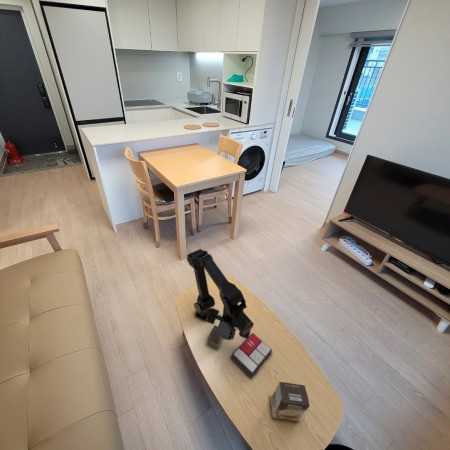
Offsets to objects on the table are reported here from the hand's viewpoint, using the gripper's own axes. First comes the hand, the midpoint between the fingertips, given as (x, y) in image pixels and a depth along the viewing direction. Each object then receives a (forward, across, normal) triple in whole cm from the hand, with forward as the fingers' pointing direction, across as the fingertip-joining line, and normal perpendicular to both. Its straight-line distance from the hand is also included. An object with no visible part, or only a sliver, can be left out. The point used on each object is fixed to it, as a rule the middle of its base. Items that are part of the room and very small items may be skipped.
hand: (227, 333), depth 103 cm
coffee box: (+10, +29, -14) cm, 34 cm away
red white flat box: (+10, +12, 0) cm, 16 cm away
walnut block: (+10, -5, 0) cm, 11 cm away
